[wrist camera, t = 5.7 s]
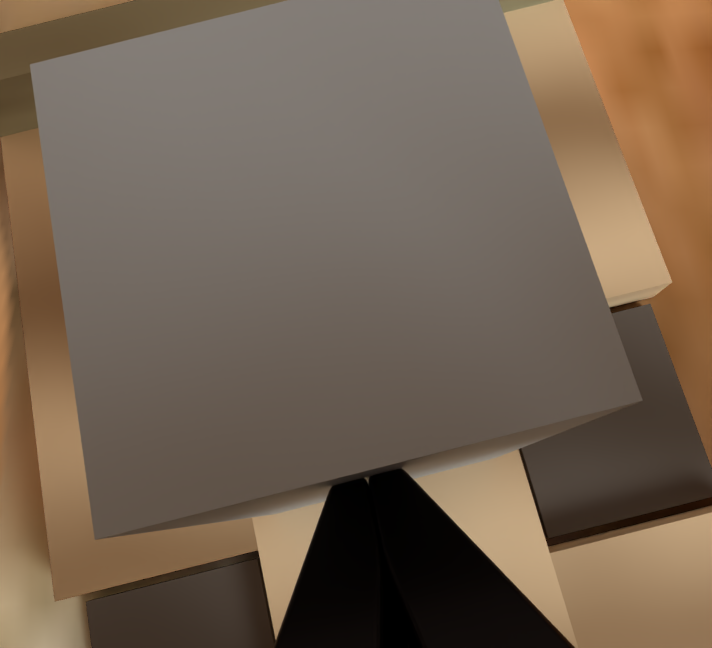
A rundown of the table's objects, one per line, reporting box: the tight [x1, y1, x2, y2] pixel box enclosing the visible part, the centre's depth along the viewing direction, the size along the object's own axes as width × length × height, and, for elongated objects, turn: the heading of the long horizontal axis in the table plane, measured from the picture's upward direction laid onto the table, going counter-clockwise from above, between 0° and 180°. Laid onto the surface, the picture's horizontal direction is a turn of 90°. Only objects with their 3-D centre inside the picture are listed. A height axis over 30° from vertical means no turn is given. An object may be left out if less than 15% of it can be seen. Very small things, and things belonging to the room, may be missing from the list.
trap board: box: [0, 0, 712, 648], centre depth 15 cm, size 20×15×3 cm
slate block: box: [30, 0, 643, 540], centre depth 11 cm, size 5×5×9 cm
